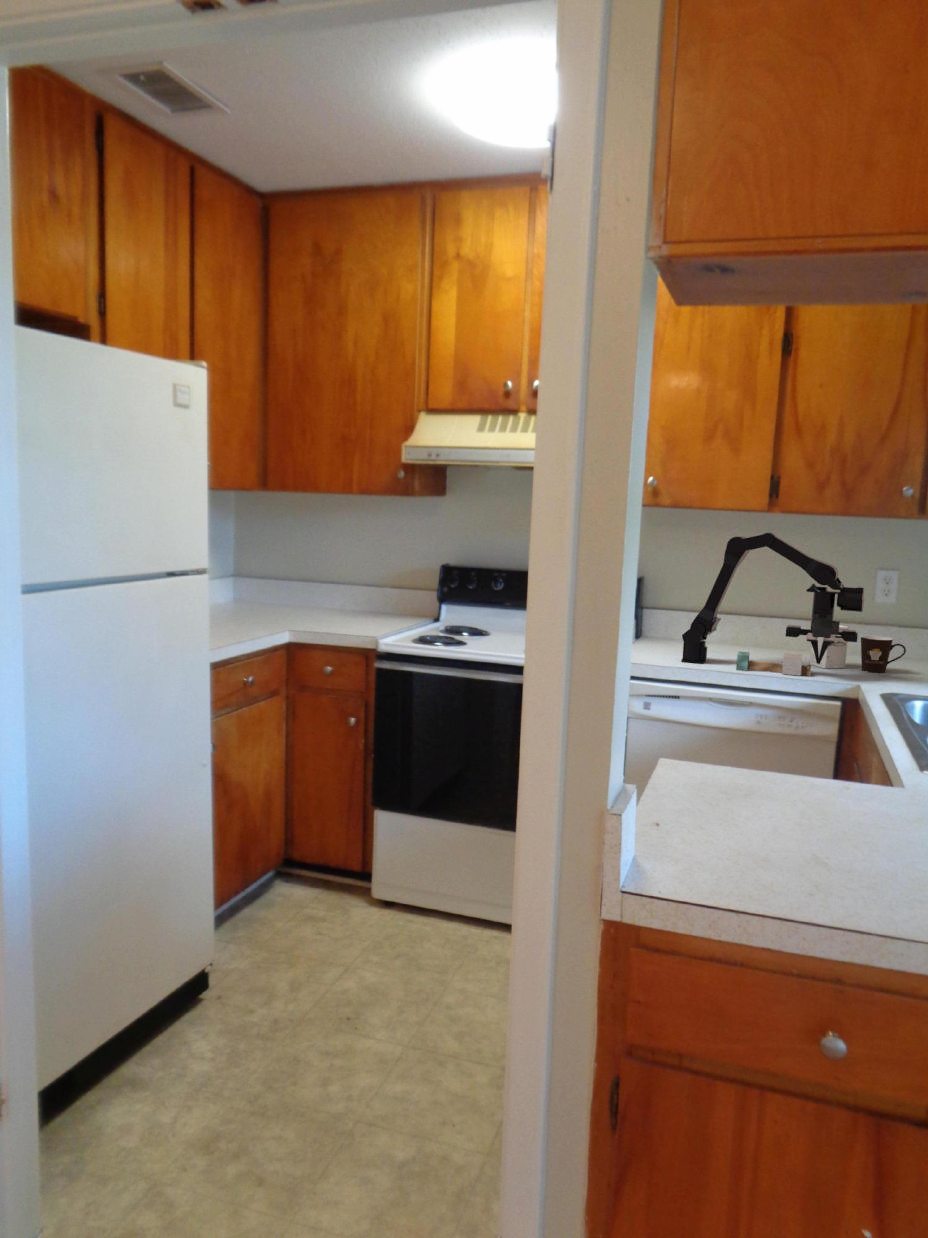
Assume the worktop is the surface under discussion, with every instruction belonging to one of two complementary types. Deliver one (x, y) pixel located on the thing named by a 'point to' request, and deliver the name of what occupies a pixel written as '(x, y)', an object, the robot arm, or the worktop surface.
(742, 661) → the track
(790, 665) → the block
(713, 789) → the worktop surface
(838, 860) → the worktop surface
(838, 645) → the supplement box
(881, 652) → the coffee mug
